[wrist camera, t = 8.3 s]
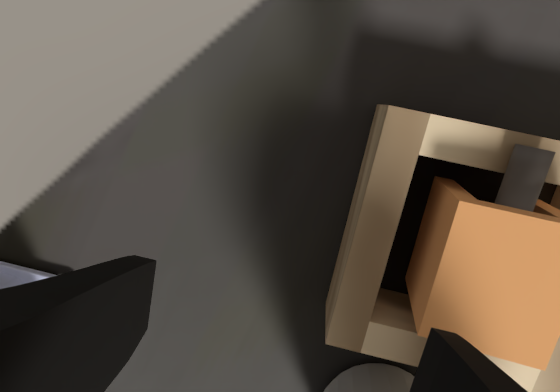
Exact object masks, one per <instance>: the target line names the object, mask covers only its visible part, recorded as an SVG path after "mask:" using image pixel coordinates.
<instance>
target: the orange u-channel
mask: <svg viewBox="0 0 560 392" xmlns="http://www.w3.org/2000/svg"><path fill="white" fill-rule="evenodd" d="M405 280H406V285H407V289H408V294H409V298H410V303H411V307H412V312H413V316H414V321H415V326H416V330H417V335H418V336H422V337H425V338H428V336H429V333H430V330H431V327H432V328H436V329H441V330H445V331H449V332H453V333H456V334H458V335H459V336H461V337H462V338H464V339H465V340H466V341H468V342H469V343H470V344H472V345H473V346H474V347H475V348H477V349H478V350H479V351H480V352H481V353H483V354H486V355H490V356H493V357H497V358H500V359H504V360H507V361H511V362H515V363H518V364H522V365H525V366H529V367H533V368H536V369H540V370H543V371H545V370H546V368H547V365H548V363H549V360H550V358H551V355H552V353H553V351H554V348H555V346H556V343H557V341H558V338H559V336H560V210H559V209H557V208H555V207H553V206H551V205H549V204H547V203H545V202H543V201H541V200H540V199H538V200H537V202H536V205H535V208H534V210H533V212H531V211H526V210H522V209H517V208H513V207H508V206H504V205H499V204H494V203H490V202H485V201H481V200H477V199H476V198H475V197H473V196H472V195H471V194H470V193H469V192H467V191H466V190H465V189H464V188H462V187H461V186H460V185H459V184H458V183H456V182H455V181H454V180H451V179H447V178H442V177H437V176H434V180H433V183H432V187H431V190H430V194H429V197H428V200H427V204H426V207H425V211H424V214H423V218H422V221H421V225H420V228H419V232H418V235H417V238H416V242H415V245H414V249H413V252H412V256H411V259H410V263H409V266H408V269H407V273H406V276H405Z"/></svg>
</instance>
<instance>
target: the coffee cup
mask: <svg viewBox="0 0 560 392" xmlns="http://www.w3.org/2000/svg"><path fill="white" fill-rule="evenodd" d="M413 380H414V376H413V375H412V374H411V373H409V372H407V371H405V370H403V369H401V368H399V367H396V366H392V365H388V364H383V363H367V364H362V365H358V366H354V367H352V368H350V369H348V370H346V371H344V372H342V373H340V374H339V375H338V376H337V377H336V378H335V379H334V380H332V381H331V383H330V384H329V385H328V386H327V387H326V389H325V390H324V392H409V391H410V388H411V385H412V383H413Z"/></svg>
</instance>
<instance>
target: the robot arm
mask: <svg viewBox="0 0 560 392" xmlns="http://www.w3.org/2000/svg"><path fill="white" fill-rule="evenodd" d="M155 268H156V260H152V259H148V258H144V257H140V256H136V255H133V256H127V257H122V258H118V259H114V260H111V261H107V262H103V263H100V264H97V265H93V266H90V267H86V268H83V269H79V270H76V271H72V272H69V273H65V274H61V275H54V274H50V273H46V272H42V271H38V270H34V269H30V268H26V267H22V266H18V265H14V264H10V263H6V262H2V261H0V392H104V391H105V390H106V389H107V387H108V386H109V385H110V384H111V382H112V381H113V380H114V378H115V377H116V376H117V375H118V373H119V372H120V371H121V370H122V368H123V367H124V366H125V364H126V363H127V362H128V360H129V359H130V357H131V355H132V354H133V352H134V351H135V349H136V347H137V346H138V344H139V342H140V340H141V339H142V337H143V335H144V334H145V332H146V330H147V327H148V320H149V312H150V305H151V297H152V290H153V283H154V275H155ZM409 392H528V391H526V390H525V389H524V388H523V387H522V386H520V385H519V384H518V383H517V382H516V381H514V380H513V379H512V378H511V377H510V376H509V375H507V374H506V373H505V372H504V371H503V370H501V369H500V368H499V367H498V366H497V365H496V364H494V363H493V362H492V361H491V360H490V359H488V358H487V357H486V356H485V355H484V354H483V353H481V352H480V351H479V350H478V349H477V348H475V347H474V346H473V345H472V344H470V343H469V342H468V341H466V340H465V339H464V338H462V337H461V336H459V335H458V334H456V333H453V332H449V331H445V330H441V329H436V328H432V327H431V330H430V333H429V336H428V338H427V341H426V344H425V347H424V350H423V353H422V356H421V359H420V362H419V365H418V368H417V371H416V374H415V377H414V380H413V383H412V385H411V388H410V391H409Z"/></svg>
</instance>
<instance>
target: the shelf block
mask: <svg viewBox="0 0 560 392" xmlns="http://www.w3.org/2000/svg"><path fill="white" fill-rule="evenodd" d="M418 155H421V156H426V157H431V158H435V159H440V160H445V161H449V162H454V163H459V164H463V165H468V166H472V167H477V168H482V169H486V170H491V171H496V172H500V173H505V174H504V177H503V180H502V183H501V186H500V188H499V191H498V194H497V197H496V200H495V203H494V204H499V205H504V206H508V207H513V208H517V209H522V210H526V211H531V212H533V210H534V208H535V205H536V202H537V200H538V197H539V195H540V192H541V189H542V187H543V184H544V182H547V183H551V184H556V185H557V187H556V190H555V192H554V195H553V198H552V200H551V203H550V205H551V206H553V207H555V208H557V209H559V210H560V141H559V140H554V139H549V138H544V137H540V136H535V135H530V134H525V133H520V132H516V131H511V130H506V129H501V128H496V127H492V126H487V125H482V124H477V123H473V122H468V121H463V120H458V119H453V118H449V117H444V116H439V115H434V114H429V113H425V112H420V111H415V110H410V109H405V108H401V107H396V106H391V105H381V104H377V106H376V110H375V114H374V118H373V122H372V126H371V130H370V134H369V137H368V141H367V145H366V149H365V153H364V157H363V161H362V164H361V168H360V172H359V176H358V180H357V184H356V188H355V192H354V195H353V199H352V203H351V207H350V211H349V215H348V219H347V222H346V226H345V230H344V234H343V238H342V242H341V246H340V249H339V253H338V257H337V261H336V265H335V269H334V273H333V277H332V280H331V284H330V288H329V292H328V296H327V300H326V316H325V344H327V345H331V346H335V347H339V348H343V349H347V350H351V351H355V352H359V353H363V354H367V355H371V356H375V357H379V358H383V359H387V360H391V361H395V362H399V363H403V364H407V365H411V366H415V367H418V365H419V362H420V359H421V356H422V353H423V350H424V347H425V344H426V341H427V338H425V337H422V336H418V335H417V330H416V326H415V321H414V316H413V312H412V307H411V303H410V298H409V295H408V294H404V293H400V292H395V291H391V290H387V289H383V288H380V285H381V281H382V278H383V274H384V271H385V268H386V264H387V261H388V257H389V254H390V251H391V247H392V244H393V240H394V237H395V234H396V230H397V227H398V223H399V220H400V217H401V213H402V210H403V206H404V203H405V200H406V196H407V193H408V189H409V186H410V183H411V179H412V176H413V172H414V169H415V166H416V162H417V159H418ZM484 355H485V356H486V357H487V358H488V359H490V360H491V361H492V362H493V363H494V364H496V365H497V366H498V367H499V368H500V369H501V370H503V371H504V372H505V373H506V374H507V375H509V376H510V377H511V378H512V379H513V380H514V381H516V382H517V383H518V384H519V385H520V386H522V387H523V388H524V389H525V390H526V391H528V392H560V336H559V338H558V341H557V343H556V346H555V348H554V351H553V353H552V355H551V358H550V360H549V363H548V365H547V368H546V370H545V371H543V370H540V369H536V368H533V367H529V366H525V365H522V364H518V363H515V362H511V361H507V360H504V359H500V358H497V357H493V356H490V355H486V354H484Z"/></svg>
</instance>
